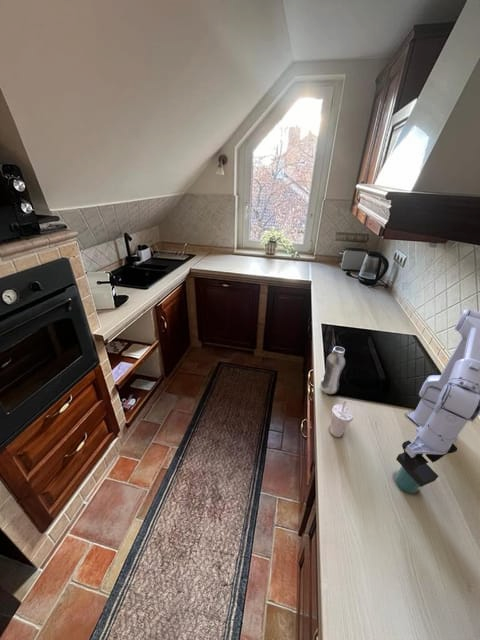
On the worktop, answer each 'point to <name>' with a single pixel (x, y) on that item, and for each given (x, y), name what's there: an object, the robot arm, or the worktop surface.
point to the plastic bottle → (333, 371)
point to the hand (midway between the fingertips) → (419, 463)
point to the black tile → (419, 472)
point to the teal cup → (406, 481)
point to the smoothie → (340, 419)
